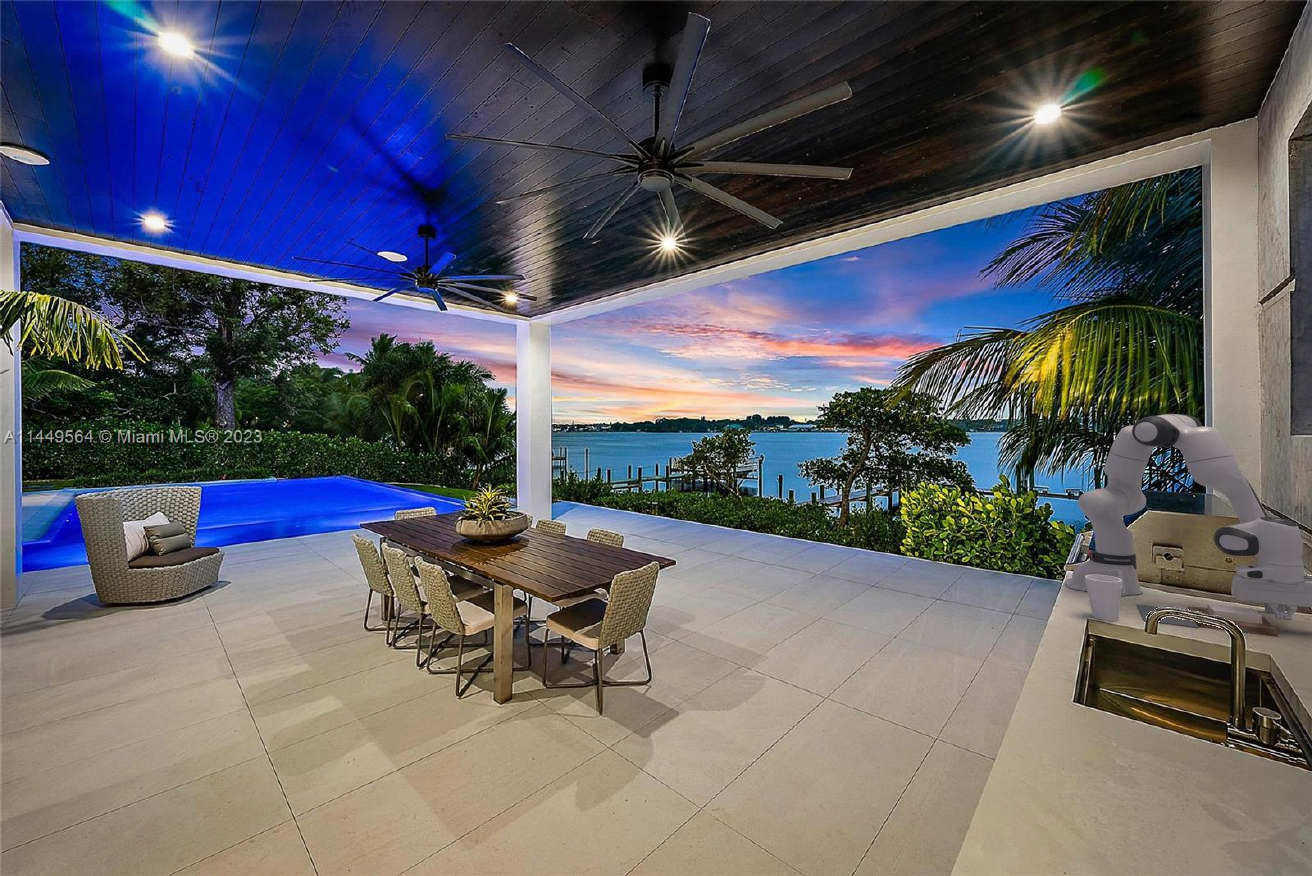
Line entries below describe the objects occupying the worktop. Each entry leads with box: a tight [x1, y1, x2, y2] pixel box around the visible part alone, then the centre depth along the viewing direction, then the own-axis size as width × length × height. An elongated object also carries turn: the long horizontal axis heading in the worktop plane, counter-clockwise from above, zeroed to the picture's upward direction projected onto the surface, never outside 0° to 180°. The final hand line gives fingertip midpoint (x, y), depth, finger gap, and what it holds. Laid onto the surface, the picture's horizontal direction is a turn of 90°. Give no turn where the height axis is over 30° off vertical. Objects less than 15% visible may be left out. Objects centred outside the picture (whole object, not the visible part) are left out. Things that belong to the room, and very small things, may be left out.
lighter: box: [1264, 603, 1286, 615], centre depth 168 cm, size 7×2×8 cm, turn 38°
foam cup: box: [1085, 575, 1123, 622], centre depth 171 cm, size 10×9×13 cm
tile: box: [1207, 603, 1263, 624], centre depth 160 cm, size 10×7×2 cm
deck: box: [1187, 605, 1279, 637], centre depth 161 cm, size 16×15×2 cm
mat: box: [1135, 603, 1200, 629], centre depth 169 cm, size 12×18×1 cm
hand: (1283, 619), depth 154 cm, fingers closed
